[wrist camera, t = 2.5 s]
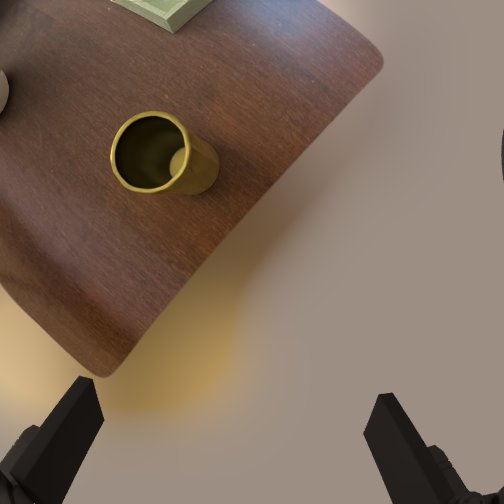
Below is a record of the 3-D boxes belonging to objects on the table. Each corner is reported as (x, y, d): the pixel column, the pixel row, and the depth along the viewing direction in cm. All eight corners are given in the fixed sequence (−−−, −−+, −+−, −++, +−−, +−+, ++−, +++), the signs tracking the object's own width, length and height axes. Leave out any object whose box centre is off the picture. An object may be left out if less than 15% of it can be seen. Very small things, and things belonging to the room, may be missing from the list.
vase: (224, 188, 31) (205, 190, 17) (168, 200, 31) (112, 211, 17) (214, 133, 29) (189, 92, 16) (159, 146, 30) (98, 119, 16)
